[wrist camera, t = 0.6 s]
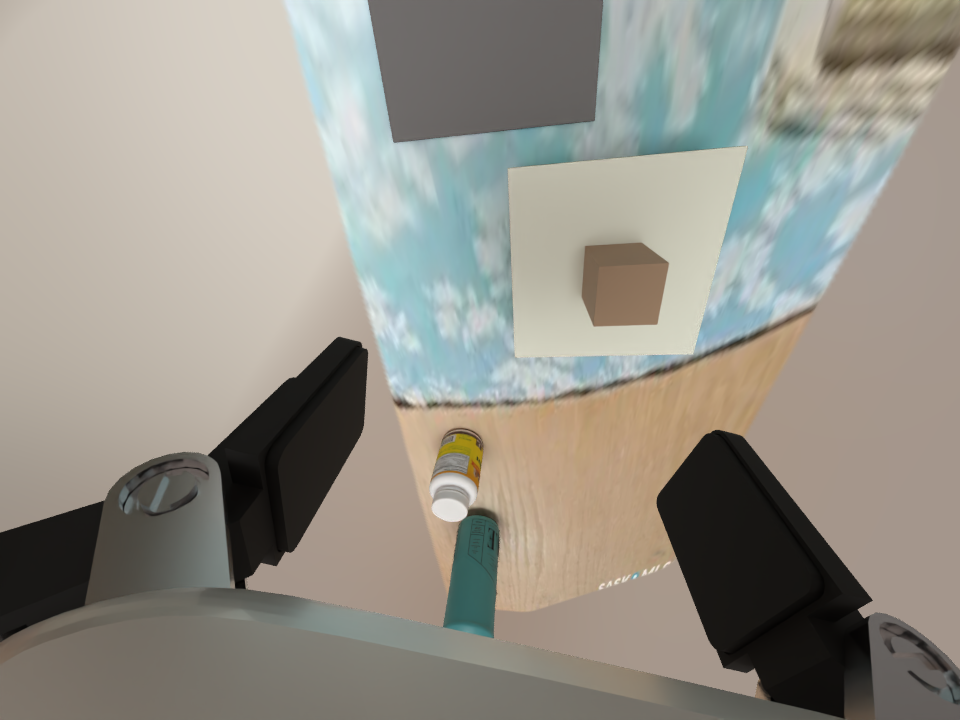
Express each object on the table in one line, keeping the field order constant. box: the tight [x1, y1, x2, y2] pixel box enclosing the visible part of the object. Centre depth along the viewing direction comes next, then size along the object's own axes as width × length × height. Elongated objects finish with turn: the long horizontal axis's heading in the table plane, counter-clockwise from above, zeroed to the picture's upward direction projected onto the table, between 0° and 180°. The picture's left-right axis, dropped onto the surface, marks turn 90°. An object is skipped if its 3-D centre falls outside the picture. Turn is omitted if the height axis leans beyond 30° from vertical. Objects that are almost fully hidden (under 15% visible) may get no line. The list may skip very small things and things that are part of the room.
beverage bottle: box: [443, 515, 500, 638], centre depth 45 cm, size 6×7×20 cm
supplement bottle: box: [429, 429, 483, 522], centre depth 41 cm, size 6×6×10 cm
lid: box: [508, 146, 748, 358], centre depth 24 cm, size 15×15×6 cm
